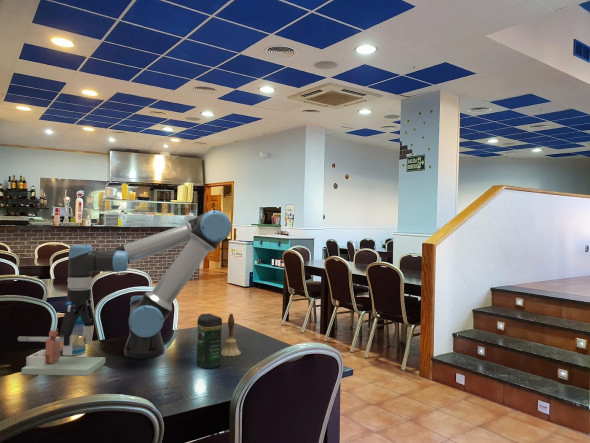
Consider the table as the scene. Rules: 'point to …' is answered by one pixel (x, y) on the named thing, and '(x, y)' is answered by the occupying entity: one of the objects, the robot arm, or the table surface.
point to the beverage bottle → (77, 331)
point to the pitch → (62, 365)
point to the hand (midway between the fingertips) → (77, 349)
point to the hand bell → (230, 341)
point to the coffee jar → (209, 341)
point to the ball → (41, 354)
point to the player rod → (54, 344)
